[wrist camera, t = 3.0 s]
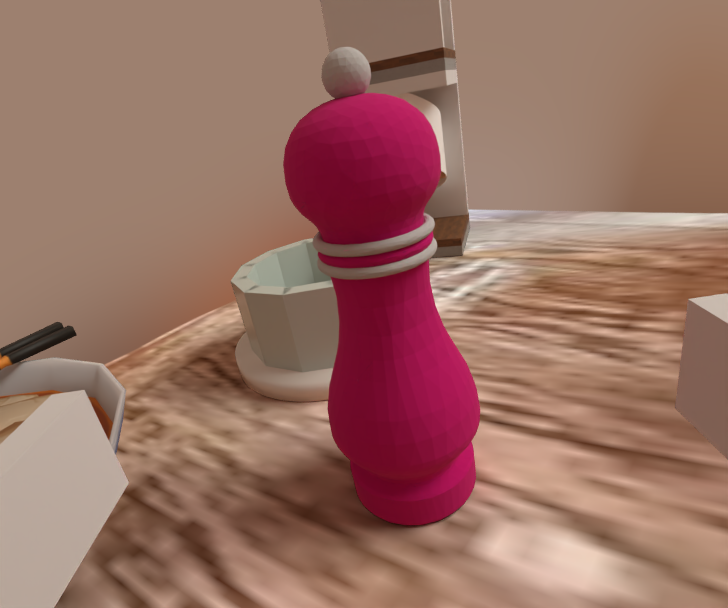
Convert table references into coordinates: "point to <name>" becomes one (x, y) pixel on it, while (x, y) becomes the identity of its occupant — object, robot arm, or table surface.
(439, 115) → the spiral stair tower
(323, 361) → the well
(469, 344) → the table surface
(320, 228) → the pepper mill
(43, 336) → the ramen bowl
